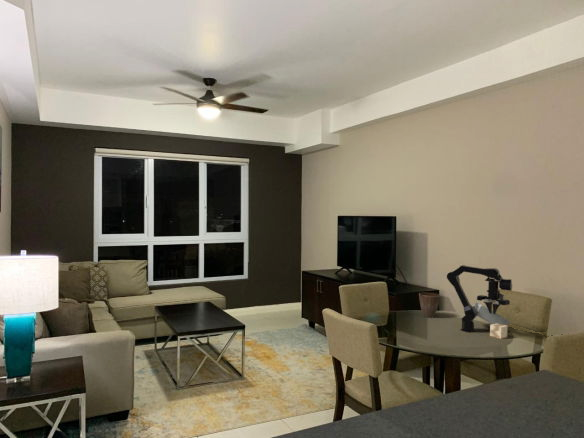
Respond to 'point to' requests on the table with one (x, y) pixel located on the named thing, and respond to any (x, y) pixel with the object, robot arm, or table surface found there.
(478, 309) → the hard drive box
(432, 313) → the plant pot
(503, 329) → the birch block
